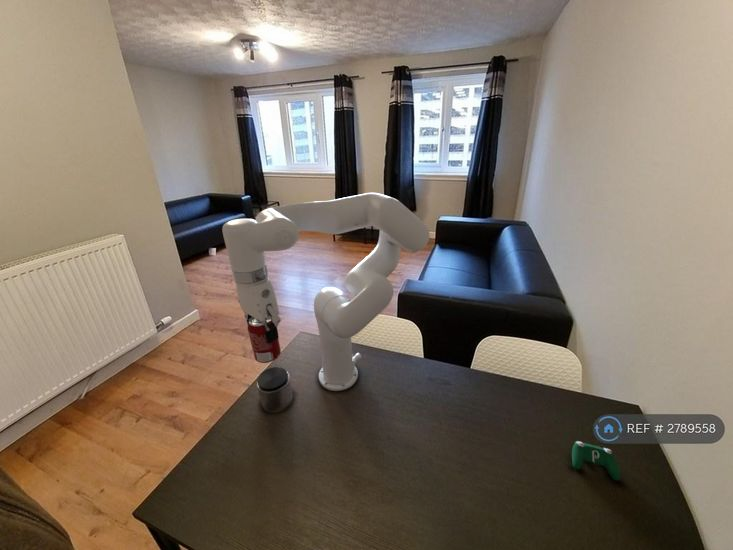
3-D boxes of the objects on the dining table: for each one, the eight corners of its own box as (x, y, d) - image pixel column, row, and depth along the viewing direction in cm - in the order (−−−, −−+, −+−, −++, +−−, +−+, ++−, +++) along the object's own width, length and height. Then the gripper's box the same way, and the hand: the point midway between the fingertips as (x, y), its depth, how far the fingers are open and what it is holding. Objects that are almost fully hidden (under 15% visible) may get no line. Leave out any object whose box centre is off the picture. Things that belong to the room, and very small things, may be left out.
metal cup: (280, 383, 96) (276, 361, 92) (299, 397, 91) (295, 375, 87) (255, 402, 89) (249, 379, 85) (274, 418, 84) (268, 395, 80)
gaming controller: (613, 478, 70) (613, 449, 72) (622, 482, 67) (621, 452, 69) (568, 465, 73) (568, 438, 75) (574, 469, 70) (574, 440, 71)
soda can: (274, 366, 77) (266, 328, 72) (250, 363, 79) (240, 325, 73) (285, 349, 83) (278, 312, 78) (262, 346, 85) (254, 310, 79)
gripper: (287, 276, 68) (297, 340, 76) (244, 259, 77) (256, 317, 85) (258, 290, 63) (272, 356, 70) (215, 269, 72) (232, 330, 80)
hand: (263, 334), depth 78 cm, fingers closed on soda can, 6 cm apart
